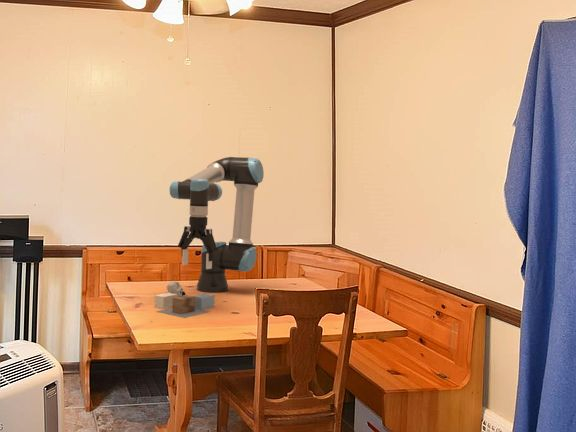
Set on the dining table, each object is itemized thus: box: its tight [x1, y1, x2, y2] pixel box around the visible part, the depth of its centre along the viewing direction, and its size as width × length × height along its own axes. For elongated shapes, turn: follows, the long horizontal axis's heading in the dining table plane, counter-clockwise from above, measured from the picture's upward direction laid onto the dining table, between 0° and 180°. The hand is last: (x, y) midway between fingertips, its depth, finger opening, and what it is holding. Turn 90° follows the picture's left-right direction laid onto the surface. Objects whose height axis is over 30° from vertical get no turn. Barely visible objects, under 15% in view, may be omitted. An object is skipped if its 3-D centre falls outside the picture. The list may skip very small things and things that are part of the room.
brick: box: [154, 292, 177, 310], centre depth 291 cm, size 8×5×6 cm, turn 145°
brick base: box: [171, 294, 196, 314], centre depth 283 cm, size 8×5×6 cm, turn 145°
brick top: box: [194, 293, 215, 310], centre depth 293 cm, size 8×5×6 cm, turn 145°
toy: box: [166, 280, 187, 297], centre depth 304 cm, size 6×12×15 cm
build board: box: [154, 307, 212, 319], centre depth 283 cm, size 16×16×1 cm
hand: (196, 266), depth 291 cm, fingers open, 13 cm apart
